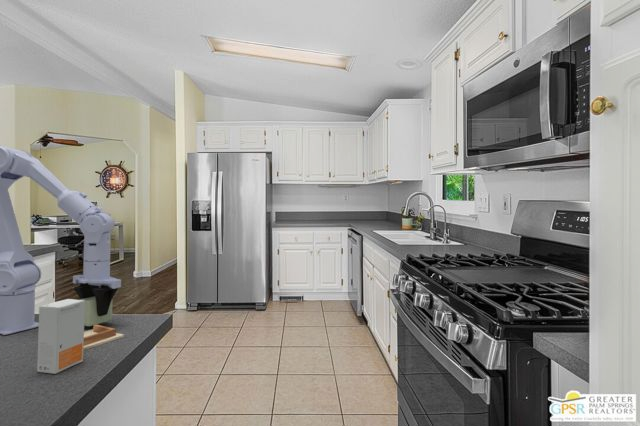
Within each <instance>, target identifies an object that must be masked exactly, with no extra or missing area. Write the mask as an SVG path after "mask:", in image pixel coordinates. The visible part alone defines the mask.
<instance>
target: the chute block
mask: <svg viewBox="0 0 640 426" xmlns="http://www.w3.org/2000/svg"><path fill="white" fill-rule="evenodd" d="M113 298H114V297H113ZM113 298H112V301H111V303H110V306H109V309H108V313H107V315H103V316H98V314H97V303H96V298H95V296H94V297H89V298H85V299H80V298H79V300H85V314H84V327H85V326H86V327H91V326H93V325H100V324H103V323H106V322H110V321H112V320H113Z"/></svg>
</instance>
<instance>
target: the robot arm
mask: <svg viewBox="0 0 640 426" xmlns="http://www.w3.org/2000/svg"><path fill="white" fill-rule="evenodd" d="M23 177H26V178H29V179H31V180H32V181H34V182H35V183H36V184H37V185H39V186H40V187H41V188H43V189H44V190H45V191H46V192H47V193H49V194H50V195H52V196H53V197H54V198H55V199H57V207H58V208H59V209H60V210H62V211H63V212H64V213H65V214H66V215H68V217H69V218H71V219H72V220H73V221H74V222H75V223H77V224H78V225H79V226H78V227H79V230H80V231H81V233H82V234H83V236H84V239H83V269H82V270H83V271H82V274H77V275H73V276H72V284H79V285H78V286H74V288H73V289H74V291H75V292H76V294H77V296H78V297H79V300H80V299H85V298H89V297H94V296H95V298H96V303H97V314H98V316H103V315H107V313H108V309H109V306H110V303H111V301H112V298H114V296H115V295H116V293H117V291H118V290H119V288H121V287H122V279H119V278H115V277H113V276H110V275H111V274H110V273H111V243H112V242H111V240H112V239H111V232H112V231H113V230H114V229H115V220H114V219H115V218H113V217H112V215H111V213H108V212H104V211H103V212H102V208H101V207H100V206H96V205H95V204H94V203H93V202H91V201H90V200H89V199H88V198H87V197H88V195H87V194H86V193H85V192H83V191H82V192H80V191H78V190H70V189H69V188H68V187H67V186H66V185H65V184H63V182H61V181H60V179H58V178H57V177H56V176H55V175H54V174H53V173H52V172H51V171H50V170H49V169H48V168H47V167H46V166H45V165H43V163H42V162H41V161H40V159H38V158H36V157H34V156H33V155H32V154H31V153H29V152H28V151H27V150H26V151H25V150H19V149H15V148H11V147H8V146H4V145H2V144H0V335H4V336H5V335H10V334H15V333H18V332H22V331H26V330H27V331H28V330H31V329H35V328H39V322H38V321H37V322H36V321H35V310H36V306H35V304H36V301H35V300H36V285H37V283H39V281H40V280H41V278H42V270H41V268H40V266H39V265H38V264H37V263H36V262H35V260H34V256H33V255H31V254H30V253H29V252H28V251H26V249H25V246H24V243H23V240H22V236H21V232H20V229H19V225H18V221H17V218H16V214H15V211H14V207H13V203H12V200H11V197H10V193H9V188H11V186H12V185H13V184H14V183H15V182H17V181H18V180H20V179H22V178H23Z"/></svg>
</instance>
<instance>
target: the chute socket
mask: <svg viewBox="0 0 640 426" xmlns="http://www.w3.org/2000/svg"><path fill="white" fill-rule="evenodd" d="M92 326H93V327H92V329H88V330H84V344H83V352H84V351H87V350H89V349H92V348H95V347H99V346H101V345H105V344H107V343H111V342H113V341H116V340H118V339H122V338H125V334H124V333H118V332H117V328H114V327H109V326H104V325H100V324H96V325H92Z"/></svg>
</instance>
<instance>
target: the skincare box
mask: <svg viewBox="0 0 640 426" xmlns="http://www.w3.org/2000/svg"><path fill="white" fill-rule="evenodd" d="M38 308H39V309H38V323H39V327H38V336H37V367H36V371H37V372H38V373H44V374H52V375H53V374H54V375H57V374H58V373H60V372H63V371H65V370H66V369H69V368H71V367H72V366H76V365H78V364H79V363H82V362H83V361H84V351H83V344H84V332H85V325H84V314H85V300H80V299H72V298H66V299H63V300H58V301H54V302H50V303H47V304H42V305H40V306H39V307H38Z"/></svg>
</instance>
